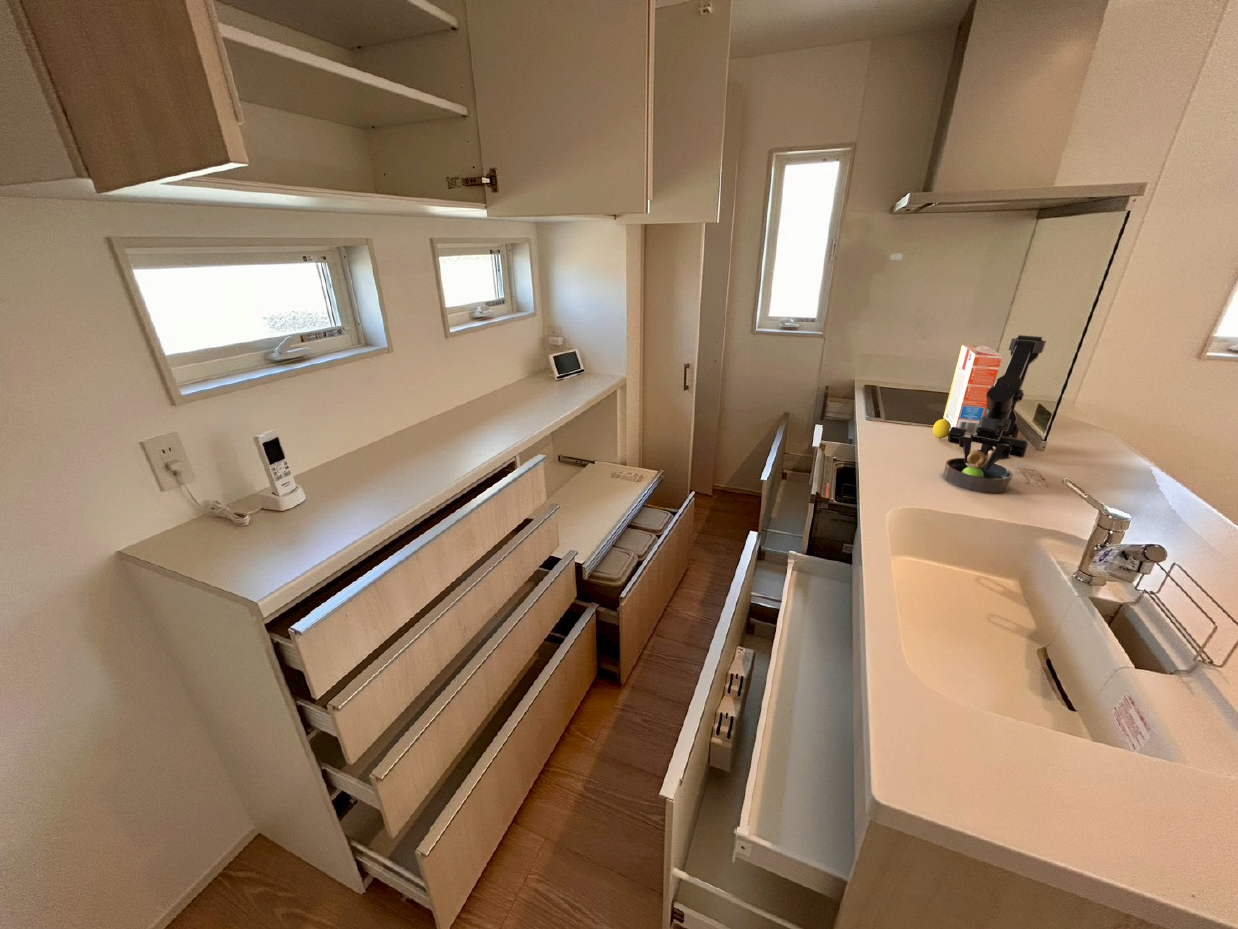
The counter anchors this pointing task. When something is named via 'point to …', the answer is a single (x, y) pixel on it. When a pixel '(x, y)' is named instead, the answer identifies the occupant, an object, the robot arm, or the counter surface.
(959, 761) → the counter surface
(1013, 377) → the robot arm
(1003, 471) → the pan
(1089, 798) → the counter surface
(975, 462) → the snail figurine
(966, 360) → the red and white box
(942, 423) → the lemon
